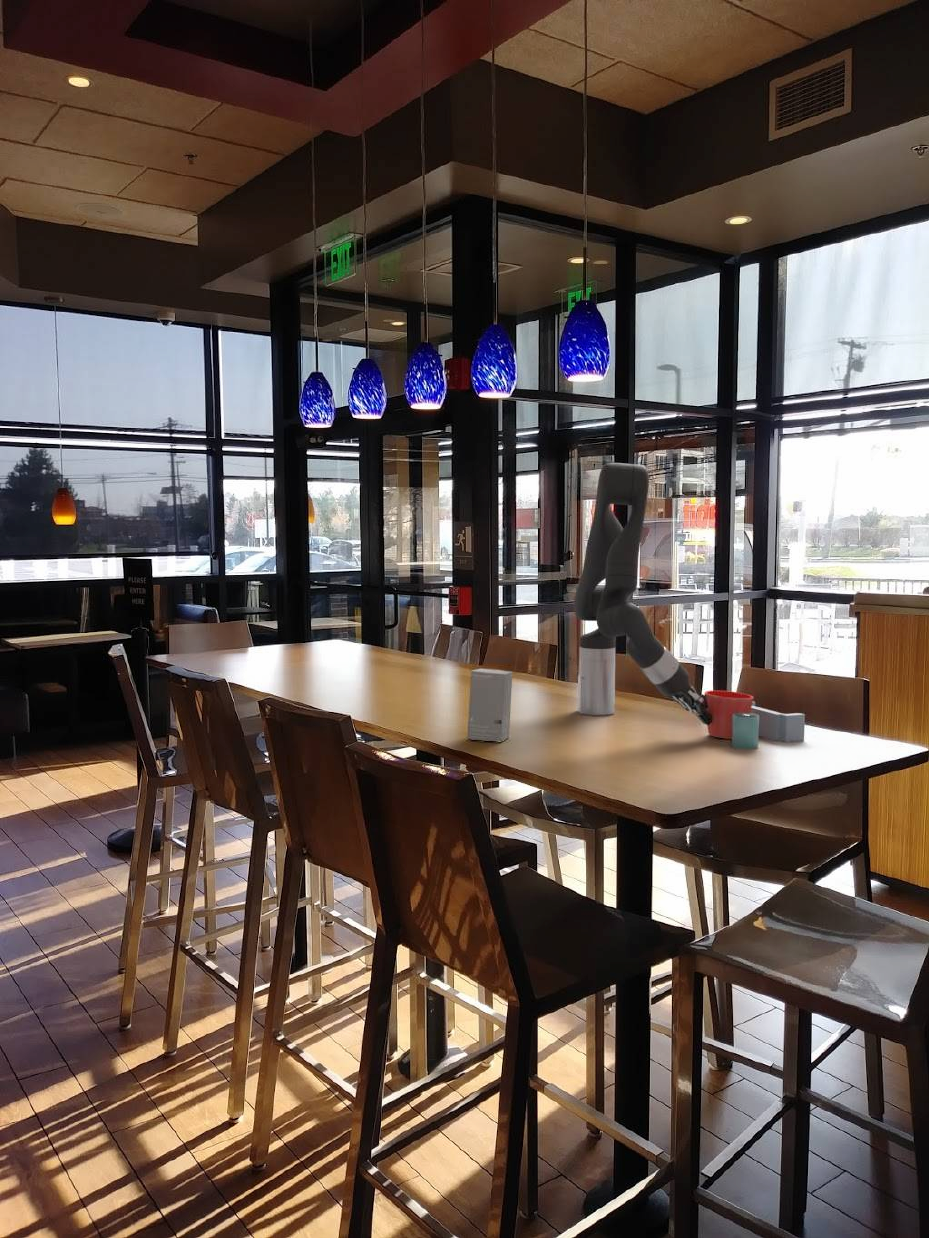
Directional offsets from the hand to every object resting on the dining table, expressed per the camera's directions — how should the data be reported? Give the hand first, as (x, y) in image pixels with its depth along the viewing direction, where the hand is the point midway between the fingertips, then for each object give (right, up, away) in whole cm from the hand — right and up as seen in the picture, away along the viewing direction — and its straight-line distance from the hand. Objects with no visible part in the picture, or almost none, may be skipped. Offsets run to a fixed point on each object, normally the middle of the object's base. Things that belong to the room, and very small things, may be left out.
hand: (709, 721), depth 230 cm
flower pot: (+4, -4, +2) cm, 6 cm away
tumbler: (+6, -5, -9) cm, 11 cm away
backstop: (+15, -3, +6) cm, 16 cm away
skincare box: (-50, -4, -2) cm, 51 cm away
